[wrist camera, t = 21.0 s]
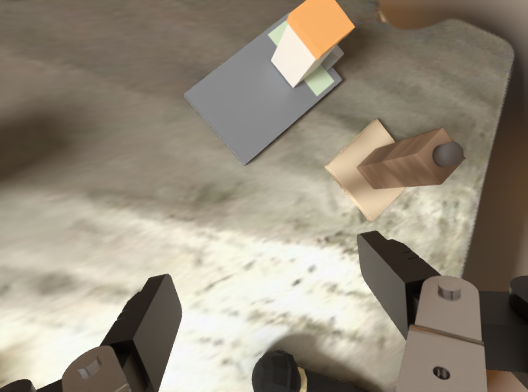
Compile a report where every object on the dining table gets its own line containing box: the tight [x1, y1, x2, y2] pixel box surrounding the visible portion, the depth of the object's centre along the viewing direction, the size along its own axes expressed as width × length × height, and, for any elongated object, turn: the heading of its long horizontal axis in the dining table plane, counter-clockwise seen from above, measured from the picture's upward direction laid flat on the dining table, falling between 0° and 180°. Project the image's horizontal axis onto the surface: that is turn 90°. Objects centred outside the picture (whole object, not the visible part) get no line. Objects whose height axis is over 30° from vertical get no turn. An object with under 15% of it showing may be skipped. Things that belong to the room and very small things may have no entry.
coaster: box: [324, 119, 406, 221], centre depth 35 cm, size 9×9×1 cm
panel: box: [184, 12, 344, 166], centre depth 31 cm, size 10×16×4 cm, turn 132°
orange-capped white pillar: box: [271, 0, 355, 88], centre depth 29 cm, size 4×4×8 cm
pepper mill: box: [356, 128, 465, 189], centre depth 29 cm, size 4×4×11 cm
